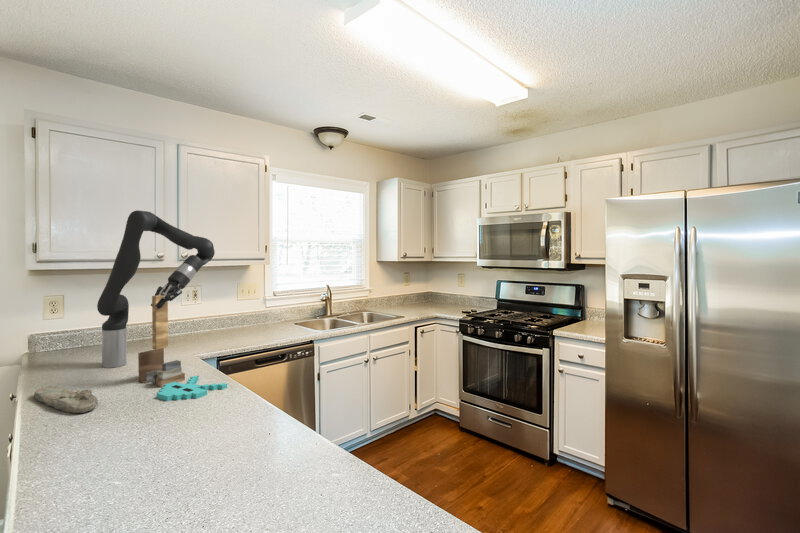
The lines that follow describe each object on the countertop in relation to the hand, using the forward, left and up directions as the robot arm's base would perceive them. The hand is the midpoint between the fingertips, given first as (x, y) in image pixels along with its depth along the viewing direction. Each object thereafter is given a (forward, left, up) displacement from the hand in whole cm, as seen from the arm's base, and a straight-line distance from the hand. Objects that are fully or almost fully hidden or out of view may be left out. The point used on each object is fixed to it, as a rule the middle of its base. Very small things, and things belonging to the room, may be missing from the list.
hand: (155, 306), depth 162 cm
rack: (-2, +2, -31) cm, 31 cm away
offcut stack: (+7, +2, -31) cm, 32 cm away
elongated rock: (-6, -29, -32) cm, 43 cm away
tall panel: (0, +2, -17) cm, 18 cm away
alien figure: (+21, -1, -32) cm, 38 cm away
